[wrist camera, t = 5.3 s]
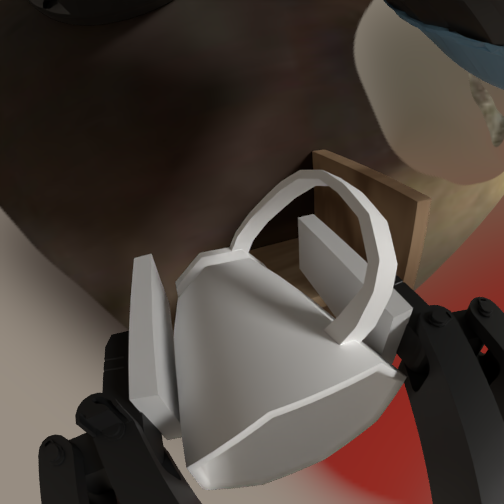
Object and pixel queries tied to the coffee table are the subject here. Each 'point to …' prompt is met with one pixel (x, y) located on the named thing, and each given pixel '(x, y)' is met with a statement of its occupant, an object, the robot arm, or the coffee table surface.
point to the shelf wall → (386, 202)
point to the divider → (287, 266)
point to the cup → (277, 353)
